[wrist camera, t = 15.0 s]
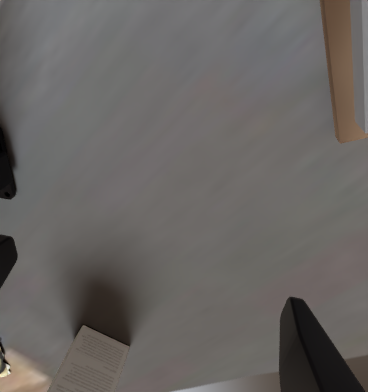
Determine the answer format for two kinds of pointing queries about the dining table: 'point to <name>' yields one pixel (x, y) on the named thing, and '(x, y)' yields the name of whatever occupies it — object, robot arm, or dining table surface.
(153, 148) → the dining table surface
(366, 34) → the tower top
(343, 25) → the tower base
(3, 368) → the decorative vase
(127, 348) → the skincare box
